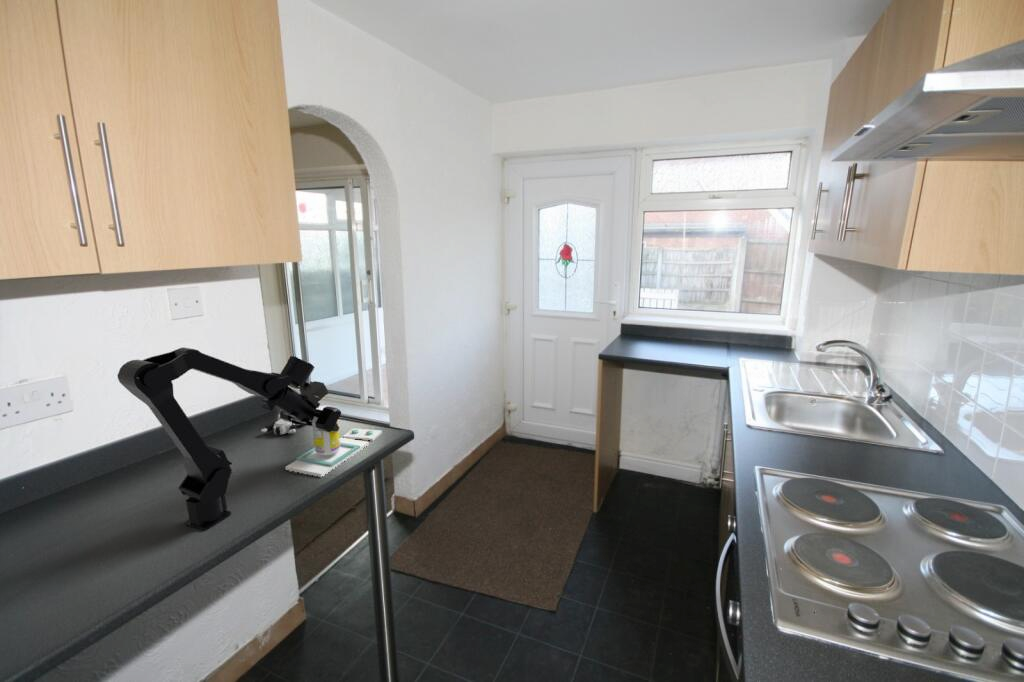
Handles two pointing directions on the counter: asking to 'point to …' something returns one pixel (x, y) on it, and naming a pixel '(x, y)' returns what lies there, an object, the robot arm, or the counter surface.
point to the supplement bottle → (325, 439)
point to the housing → (326, 458)
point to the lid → (363, 434)
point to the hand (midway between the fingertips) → (329, 427)
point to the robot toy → (281, 427)
